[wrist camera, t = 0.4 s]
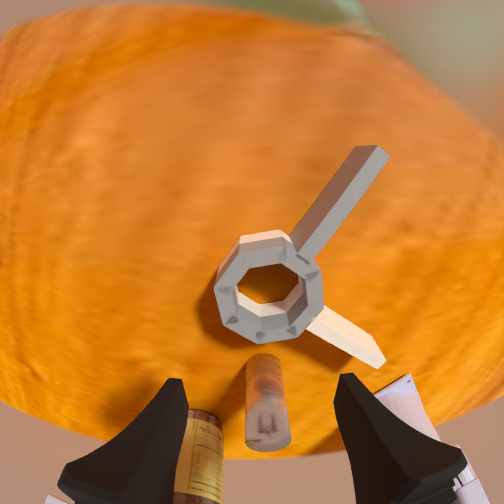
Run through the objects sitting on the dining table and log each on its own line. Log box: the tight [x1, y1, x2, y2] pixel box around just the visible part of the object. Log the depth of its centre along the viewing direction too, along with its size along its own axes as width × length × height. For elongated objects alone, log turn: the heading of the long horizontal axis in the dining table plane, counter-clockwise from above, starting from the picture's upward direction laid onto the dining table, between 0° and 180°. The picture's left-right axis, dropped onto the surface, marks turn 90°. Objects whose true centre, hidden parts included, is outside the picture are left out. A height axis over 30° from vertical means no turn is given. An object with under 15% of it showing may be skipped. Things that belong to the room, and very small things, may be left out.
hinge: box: [214, 145, 390, 369], centre depth 18 cm, size 14×14×4 cm
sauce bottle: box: [173, 410, 224, 504], centre depth 16 cm, size 7×6×20 cm
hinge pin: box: [245, 353, 291, 452], centre depth 19 cm, size 3×3×8 cm
